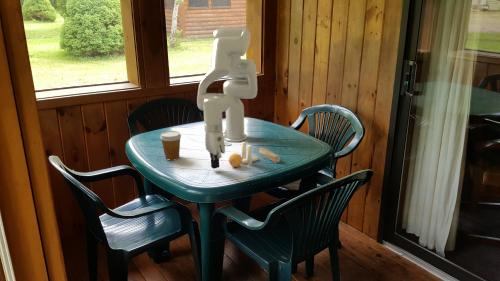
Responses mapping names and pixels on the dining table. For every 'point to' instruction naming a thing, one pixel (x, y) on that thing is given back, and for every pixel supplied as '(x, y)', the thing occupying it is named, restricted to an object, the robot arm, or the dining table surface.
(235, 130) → the robot arm
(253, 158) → the front pin
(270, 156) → the back wall
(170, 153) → the disposable coffee cup
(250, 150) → the back right pin
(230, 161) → the ball
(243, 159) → the back left pin
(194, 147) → the dining table surface
